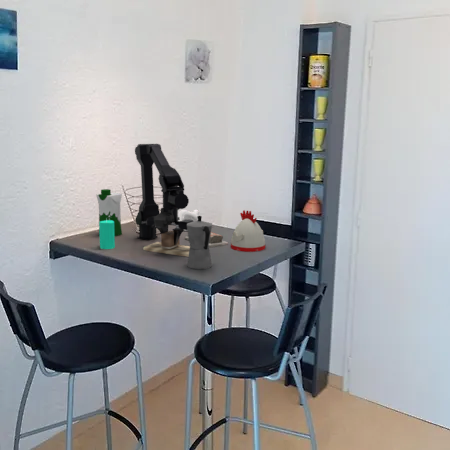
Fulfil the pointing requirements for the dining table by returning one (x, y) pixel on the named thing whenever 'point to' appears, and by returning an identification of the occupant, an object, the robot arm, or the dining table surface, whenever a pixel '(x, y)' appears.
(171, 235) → the block
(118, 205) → the milk carton
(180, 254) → the board
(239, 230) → the kitchen timer
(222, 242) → the packaged product
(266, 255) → the dining table surface
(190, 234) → the coffeepot
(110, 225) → the candle
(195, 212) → the white knot sculpture
